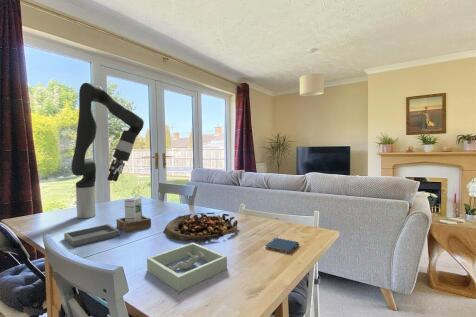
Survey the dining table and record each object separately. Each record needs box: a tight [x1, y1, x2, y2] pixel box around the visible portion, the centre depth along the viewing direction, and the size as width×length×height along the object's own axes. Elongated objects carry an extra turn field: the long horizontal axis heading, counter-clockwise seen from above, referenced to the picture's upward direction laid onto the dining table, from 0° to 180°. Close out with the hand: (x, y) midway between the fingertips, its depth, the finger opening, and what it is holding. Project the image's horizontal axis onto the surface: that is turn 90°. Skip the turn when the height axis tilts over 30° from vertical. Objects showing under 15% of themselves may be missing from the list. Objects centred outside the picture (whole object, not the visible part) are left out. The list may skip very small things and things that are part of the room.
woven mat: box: [265, 237, 300, 254], centre depth 100 cm, size 10×11×2 cm
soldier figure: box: [167, 251, 204, 272], centre depth 83 cm, size 8×5×12 cm
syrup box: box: [123, 196, 143, 223], centre depth 127 cm, size 6×6×14 cm
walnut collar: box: [116, 214, 152, 233], centre depth 128 cm, size 12×12×4 cm
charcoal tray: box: [63, 223, 121, 248], centre depth 113 cm, size 14×18×2 cm
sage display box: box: [146, 242, 228, 293], centre depth 82 cm, size 18×18×4 cm
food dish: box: [162, 212, 239, 242], centre depth 122 cm, size 35×33×8 cm
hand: (112, 180), depth 130 cm, fingers open, 8 cm apart
